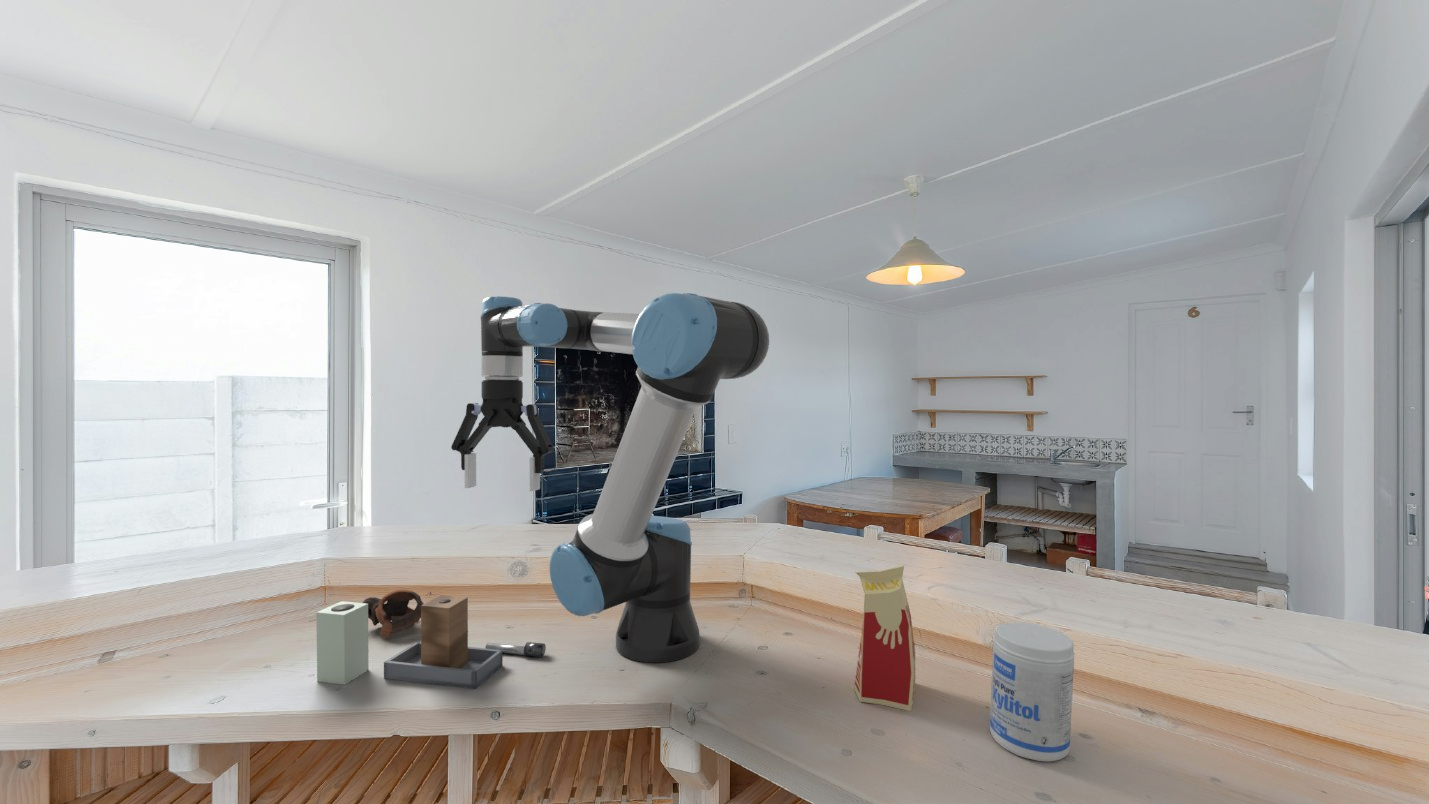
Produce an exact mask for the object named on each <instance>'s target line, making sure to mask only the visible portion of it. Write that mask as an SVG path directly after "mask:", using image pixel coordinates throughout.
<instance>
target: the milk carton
mask: <svg viewBox="0 0 1429 804" xmlns="http://www.w3.org/2000/svg"><path fill="white" fill-rule="evenodd" d="M904 568H905V565H900V566H896V567H890V568H885V569H882V570H874V571H873V570H871V571H855V574H856V575H857V576H858V577H859V580H860V582H861V587H862V591H863V594H864V599H863V601H864V602H863V617H862V625H861V626H862V627H861V633H860V640H859V646H858V647H859V649H858V657H857V663H856V664H857V665H856V673H855V677H854V678H855V680H854V684H853V689H854V691H855V694H856V696H857V698H858V700H859V702H861V703H868V704H873V705H874V704H875V705H882V706H887V707H891V708H894V709H900V710H902V711H903V710H904V711H908V712H912V710H913V709H912V707H913V703H914V699H915V692H916V691H915V690H916V646H915V640H914V639H915V638H914V630H913V622H912V614H911V609H910V606H909V602H908V598H907V593H906V589H905V584H904V581H903V575H904V570H905V569H904Z"/></svg>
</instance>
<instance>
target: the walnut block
mask: <svg viewBox="0 0 1429 804" xmlns="http://www.w3.org/2000/svg"><path fill="white" fill-rule="evenodd" d="M468 599H469V598H468V597H467V596H457V595H454V596H453V595H443V594H440V595H438V596H436V597H434V598H433V599H431V600H429V601H427V602H425V603H424V604H423V605H421V618H420V642H421V664H422V665H431V666H440V667H449V668H459V669H460V668H462V667H463V666H464V665H466V664H467V663H468V647H469V643H468V642H469V632H468V630H469V629H468V628H469V627H468V626H469V622H468V621H469V619H468V617H469V615H468V614H469V611H468V610H469V609H468V607H469V605H468V603H469V601H468Z"/></svg>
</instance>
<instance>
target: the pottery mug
mask: <svg viewBox="0 0 1429 804" xmlns="http://www.w3.org/2000/svg"><path fill="white" fill-rule="evenodd" d="M412 600H414V601H416V607H415V608H412V607H410V606H409V603H410V601H412ZM362 603H366V604H368V620H371V622H372V624H373V626H377V625H378V624H379V623H380V624H381V630H380V632H379V635H380V637H382V638H384V639H386V640H388V639H389V638H390V637H391V635H393V634H397V633H399V632H402V631H405V630H407V629H409V628H411V627H413V626H415V623H418V622H419V621H420V620H421V605H423V604H425V603H424V602H423V600H422V598H421V596H420V594H418V593H416V592H414V591H411V590H407V589H399V590H394V591H390V592H389V593H387V594H385V595H384V596H383V597H382V598H379V597H375V596H373V597H372V596H371V597H367V598H365V599H364V600H363V601H362Z"/></svg>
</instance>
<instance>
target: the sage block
mask: <svg viewBox="0 0 1429 804" xmlns="http://www.w3.org/2000/svg"><path fill="white" fill-rule="evenodd" d="M315 613H316V682H318V683H319V682H320V683H326V682H327V684H334V685H335V684H336V685H343V684H345V685H347V684H349V682H352V681H353V680H355V679H357V678H358V677H360V676H361V675H363V674H364V672H365V673H366V672H368V671H369V668H370V667H369V618H368V604H366V603H363V602H353V601H345V600H344V601H342V600H341V601H338V602H337V603H335V604H332V605H329V606H328V607H325V608H324V609H321V610H319V611H316V612H315ZM367 670H368V671H367ZM359 675H360V676H359ZM351 680H352V681H351Z"/></svg>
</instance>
